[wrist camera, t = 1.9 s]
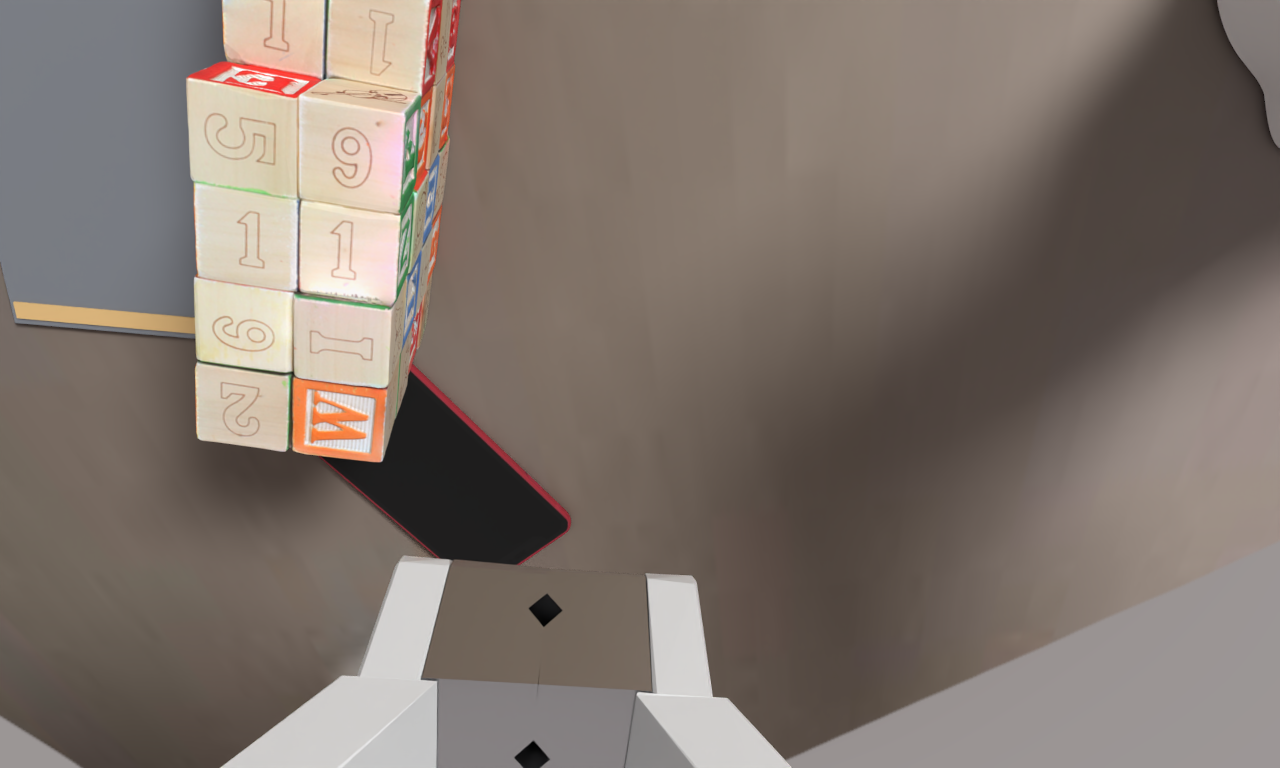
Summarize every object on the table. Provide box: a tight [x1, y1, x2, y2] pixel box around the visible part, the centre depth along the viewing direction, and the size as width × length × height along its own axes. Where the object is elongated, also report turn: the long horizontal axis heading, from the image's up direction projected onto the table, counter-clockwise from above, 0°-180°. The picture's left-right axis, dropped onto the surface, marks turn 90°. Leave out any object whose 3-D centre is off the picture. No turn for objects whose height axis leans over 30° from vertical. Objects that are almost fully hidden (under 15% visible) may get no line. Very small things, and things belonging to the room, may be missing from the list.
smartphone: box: [319, 364, 571, 565], centre depth 44 cm, size 7×1×15 cm
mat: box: [0, 0, 227, 339], centre depth 34 cm, size 13×25×1 cm, turn 174°
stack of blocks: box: [186, 0, 461, 462], centre depth 30 cm, size 21×6×12 cm, turn 168°
